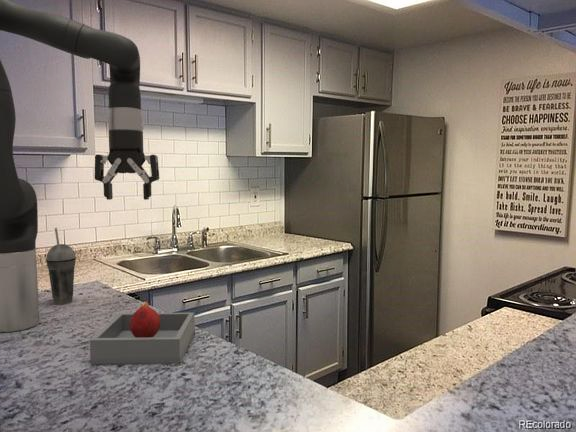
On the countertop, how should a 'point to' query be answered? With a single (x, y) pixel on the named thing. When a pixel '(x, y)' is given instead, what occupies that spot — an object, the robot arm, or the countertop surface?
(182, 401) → the countertop surface
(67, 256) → the beverage cup
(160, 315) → the tray
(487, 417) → the countertop surface
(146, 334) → the onion
